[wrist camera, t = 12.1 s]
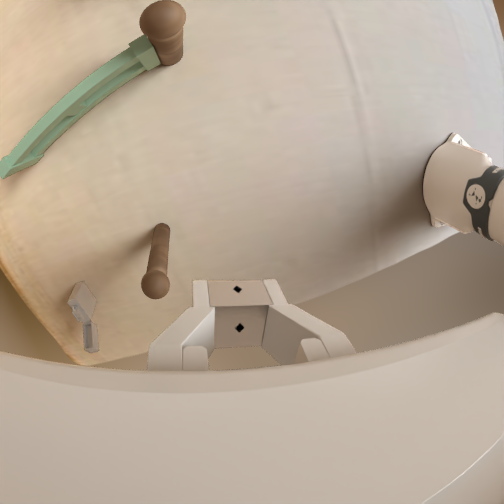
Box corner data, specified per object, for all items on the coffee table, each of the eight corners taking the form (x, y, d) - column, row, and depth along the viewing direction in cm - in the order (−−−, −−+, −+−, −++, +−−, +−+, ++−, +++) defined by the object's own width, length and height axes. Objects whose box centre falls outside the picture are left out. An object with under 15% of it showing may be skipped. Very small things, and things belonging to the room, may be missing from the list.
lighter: (74, 284, 34) (58, 319, 27) (83, 280, 34) (67, 316, 27) (99, 319, 37) (89, 356, 31) (107, 316, 38) (98, 354, 31)
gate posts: (186, 41, 23) (189, -7, 12) (175, 239, 35) (175, 308, 23) (157, 41, 23) (140, -6, 11) (149, 240, 34) (136, 308, 22)
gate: (160, 63, 23) (153, 46, 17) (36, 163, 24) (2, 179, 17) (154, 53, 23) (145, 33, 16) (30, 153, 23) (-5, 167, 17)
